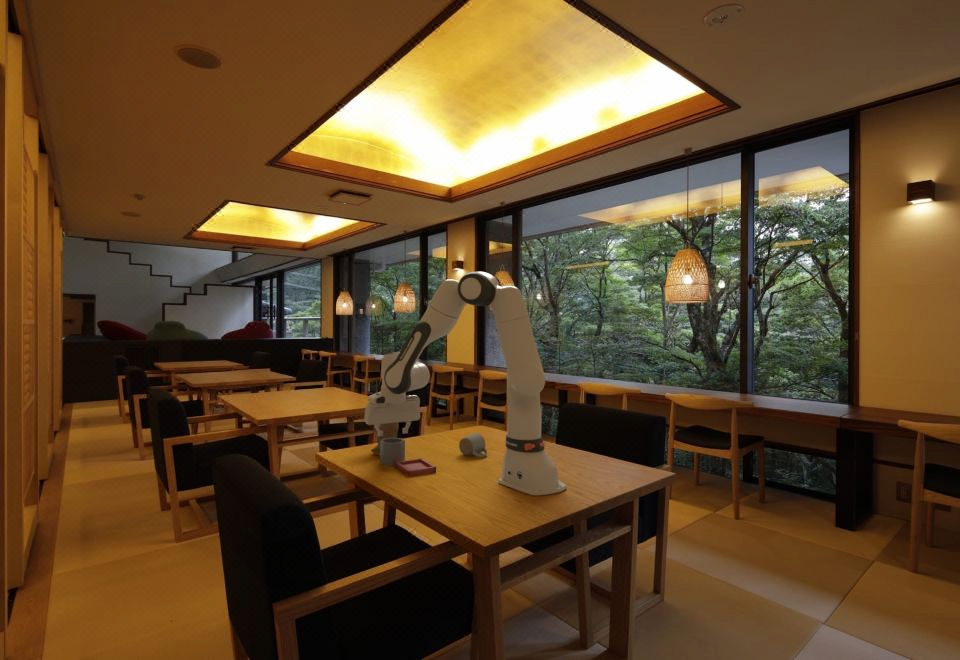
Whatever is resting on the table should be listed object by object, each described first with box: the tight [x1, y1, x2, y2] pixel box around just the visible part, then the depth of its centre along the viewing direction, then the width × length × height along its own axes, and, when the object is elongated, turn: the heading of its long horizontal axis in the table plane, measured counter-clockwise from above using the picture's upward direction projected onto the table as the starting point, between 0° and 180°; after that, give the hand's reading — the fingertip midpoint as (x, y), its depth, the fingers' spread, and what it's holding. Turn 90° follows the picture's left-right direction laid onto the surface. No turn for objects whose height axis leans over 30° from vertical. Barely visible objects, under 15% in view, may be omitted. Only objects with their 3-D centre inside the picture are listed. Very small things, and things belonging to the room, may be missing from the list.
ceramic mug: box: [458, 432, 488, 459], centre depth 187 cm, size 11×8×8 cm
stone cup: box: [370, 422, 400, 457], centre depth 189 cm, size 15×12×15 cm
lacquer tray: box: [394, 457, 437, 478], centre depth 167 cm, size 12×10×2 cm
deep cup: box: [379, 437, 406, 467], centre depth 175 cm, size 8×8×8 cm
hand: (392, 434), depth 175 cm, fingers open, 8 cm apart
